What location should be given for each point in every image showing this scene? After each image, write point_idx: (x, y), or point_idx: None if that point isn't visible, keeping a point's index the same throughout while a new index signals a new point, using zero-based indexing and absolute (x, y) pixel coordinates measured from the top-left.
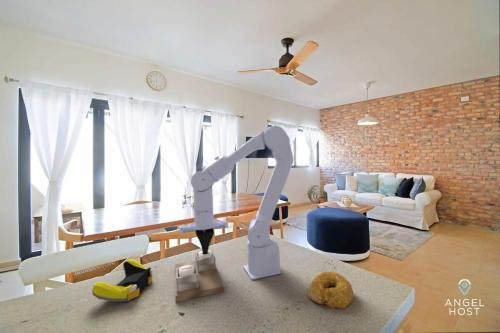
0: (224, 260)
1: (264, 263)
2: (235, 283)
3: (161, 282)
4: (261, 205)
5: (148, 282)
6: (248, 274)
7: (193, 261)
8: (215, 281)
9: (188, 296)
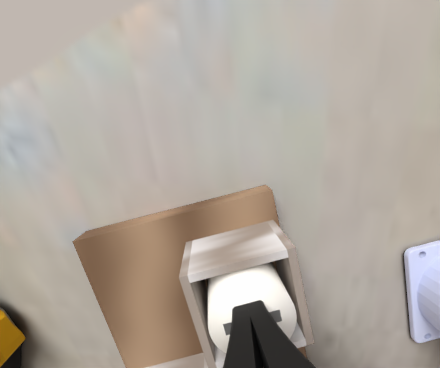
0: (325, 170)
1: None
2: (350, 348)
3: (68, 325)
4: None
5: (14, 352)
6: (409, 311)
7: (168, 218)
8: None
9: None
